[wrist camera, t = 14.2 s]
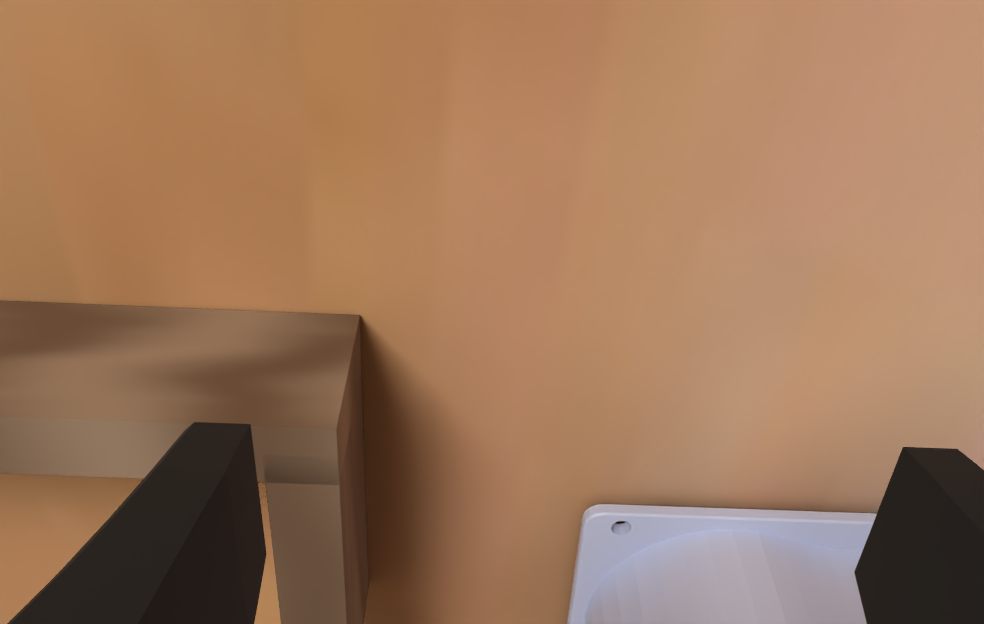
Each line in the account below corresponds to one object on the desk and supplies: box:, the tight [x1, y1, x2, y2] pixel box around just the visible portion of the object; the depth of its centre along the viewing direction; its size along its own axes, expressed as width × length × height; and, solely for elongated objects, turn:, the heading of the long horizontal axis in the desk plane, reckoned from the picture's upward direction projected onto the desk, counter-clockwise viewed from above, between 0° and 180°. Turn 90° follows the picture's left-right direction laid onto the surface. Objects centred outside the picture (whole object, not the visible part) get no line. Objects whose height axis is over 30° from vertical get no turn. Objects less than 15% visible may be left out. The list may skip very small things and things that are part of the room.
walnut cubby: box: [0, 301, 369, 624], centre depth 22 cm, size 16×9×4 cm, turn 87°
